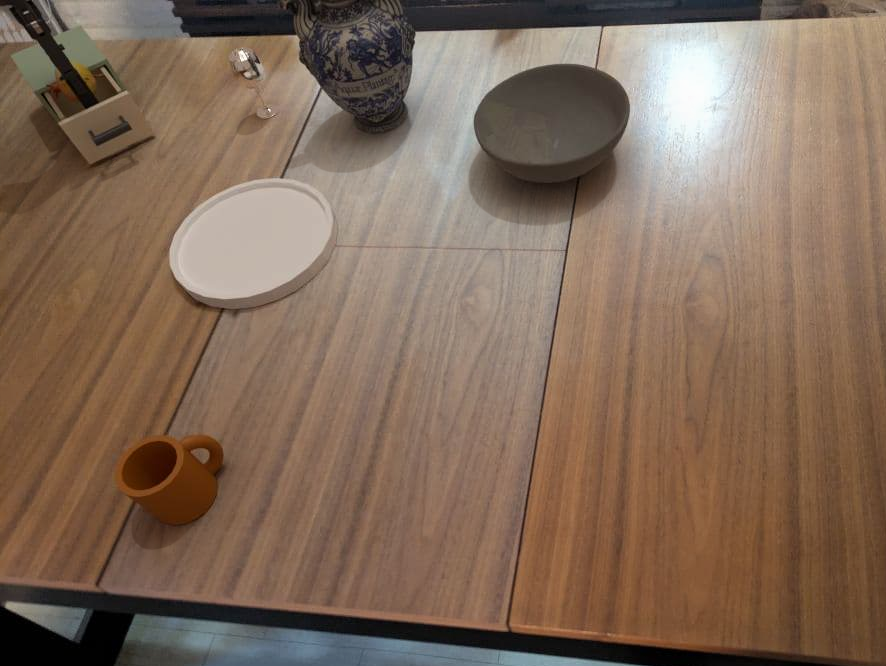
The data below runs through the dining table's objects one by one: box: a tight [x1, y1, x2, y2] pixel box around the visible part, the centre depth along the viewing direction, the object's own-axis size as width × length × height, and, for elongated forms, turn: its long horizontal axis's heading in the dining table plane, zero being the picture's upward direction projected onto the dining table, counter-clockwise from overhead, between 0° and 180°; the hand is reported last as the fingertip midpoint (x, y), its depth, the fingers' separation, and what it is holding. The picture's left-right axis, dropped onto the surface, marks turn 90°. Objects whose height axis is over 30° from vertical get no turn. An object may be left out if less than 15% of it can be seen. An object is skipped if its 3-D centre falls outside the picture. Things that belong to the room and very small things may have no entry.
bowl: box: [473, 63, 631, 184], centre depth 122 cm, size 26×26×10 cm
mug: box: [114, 434, 225, 526], centre depth 93 cm, size 9×12×9 cm
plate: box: [168, 177, 339, 310], centre depth 120 cm, size 28×28×2 cm
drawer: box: [43, 65, 155, 165], centre depth 136 cm, size 20×13×9 cm
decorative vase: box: [276, 0, 417, 134], centre depth 125 cm, size 21×19×28 cm
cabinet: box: [10, 24, 134, 124], centre depth 143 cm, size 17×15×11 cm
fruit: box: [46, 61, 105, 102], centre depth 131 cm, size 7×7×10 cm
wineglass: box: [228, 47, 280, 120], centre depth 136 cm, size 6×6×12 cm
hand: (85, 96), depth 134 cm, fingers closed on fruit, 7 cm apart
